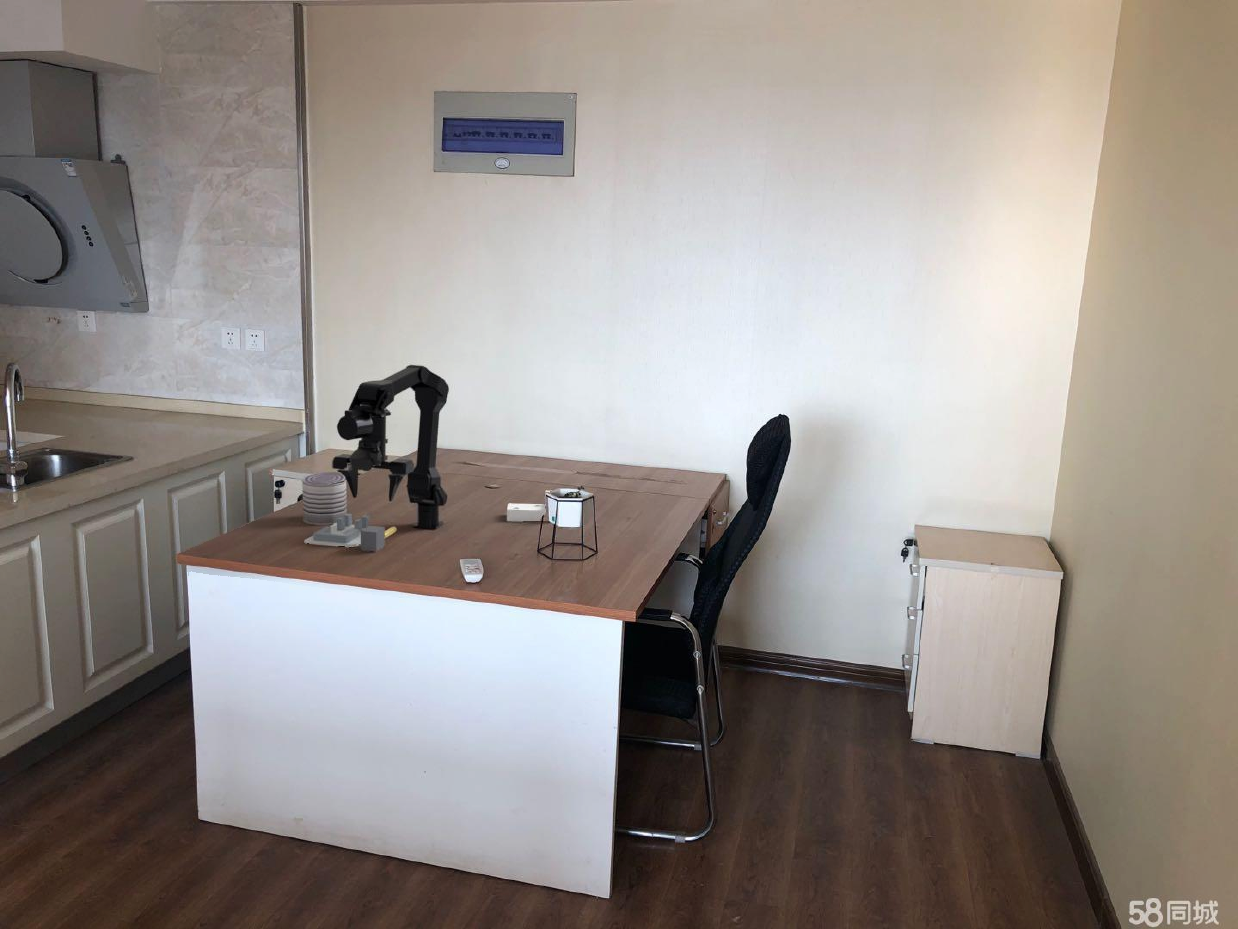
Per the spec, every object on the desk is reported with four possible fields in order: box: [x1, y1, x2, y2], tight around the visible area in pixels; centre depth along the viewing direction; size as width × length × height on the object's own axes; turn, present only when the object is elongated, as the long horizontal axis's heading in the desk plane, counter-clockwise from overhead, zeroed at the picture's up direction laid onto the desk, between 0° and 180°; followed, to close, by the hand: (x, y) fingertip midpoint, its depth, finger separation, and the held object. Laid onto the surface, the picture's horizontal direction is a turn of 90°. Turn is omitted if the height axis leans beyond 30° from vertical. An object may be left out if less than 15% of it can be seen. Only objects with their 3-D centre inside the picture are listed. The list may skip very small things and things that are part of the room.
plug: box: [360, 525, 398, 553], centre depth 245 cm, size 16×4×5 cm, turn 170°
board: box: [304, 513, 370, 548], centre depth 249 cm, size 17×13×4 cm
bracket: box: [506, 490, 551, 522], centre depth 274 cm, size 13×7×8 cm, turn 94°
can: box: [301, 471, 348, 526], centre depth 263 cm, size 11×11×12 cm
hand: (372, 499), depth 238 cm, fingers open, 9 cm apart
